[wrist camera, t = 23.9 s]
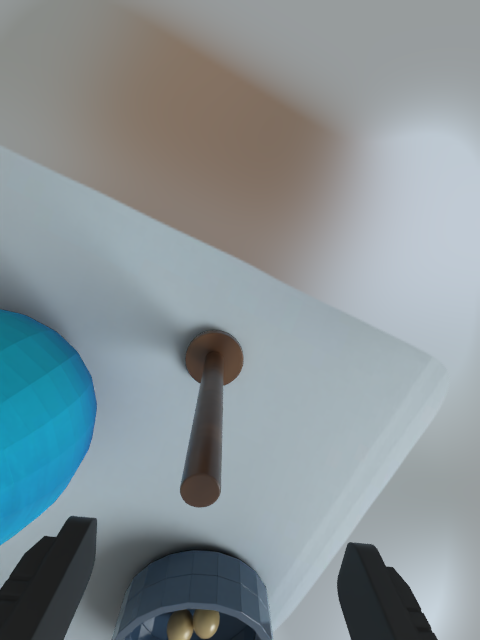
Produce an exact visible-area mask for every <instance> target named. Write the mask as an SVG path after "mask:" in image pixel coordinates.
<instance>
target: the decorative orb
mask: <svg viewBox="0 0 480 640" xmlns="http://www.w3.org/2000/svg"><path fill="white" fill-rule="evenodd" d="M96 409H97V402H96V397H95V392H94V387H93V382H92V377H91V375H90V373H89V371H88V369H87V368H86V366H85V364H84V362H83V361H82V359H81V357H80V355H79V354H78V352H77V351H76V350H75V349H74V348H73V347H72V346H71V345H70V344H69V343H68V342H67V341H66V340H65V339H64V338H63V337H62V336H60V335H59V334H58V333H57V332H56V331H54V330H53V329H51V328H49V327H47V326H45V325H43V324H41V323H39V322H38V321H36V320H34V319H32V318H30V317H28V316H26V315H23V314H19V313H15V312H10V311H6V310H2V309H0V545H1V544H3V543H4V542H6V541H7V540H9V539H10V538H12V537H13V536H14V535H16V534H17V533H18V532H19V531H21V530H22V529H23V528H24V527H26V526H27V525H28V524H29V523H31V522H32V521H33V520H34V519H36V518H37V517H38V516H40V515H41V514H42V513H43V512H44V511H45V510H46V509H47V508H48V507H49V506H51V505H52V504H53V503H54V502H55V501H56V500H57V498H58V497H59V496H60V495H61V493H62V492H63V491H64V490H65V488H66V487H67V485H68V484H69V482H70V480H71V479H72V477H73V475H74V474H75V472H76V470H77V469H78V467H79V465H80V463H81V462H82V460H83V458H84V456H85V455H86V453H87V451H88V449H89V446H90V443H91V440H92V435H93V429H94V423H95V417H96Z"/></svg>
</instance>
